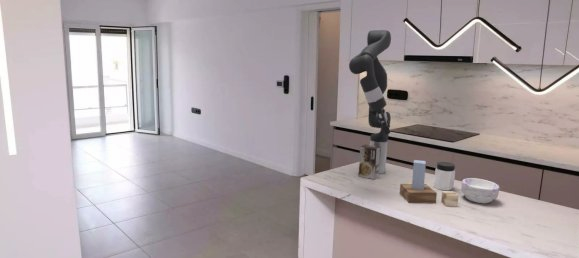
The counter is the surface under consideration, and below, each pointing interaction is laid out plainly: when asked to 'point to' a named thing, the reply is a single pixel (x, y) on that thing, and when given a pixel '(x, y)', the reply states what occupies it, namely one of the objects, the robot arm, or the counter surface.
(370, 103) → the robot arm
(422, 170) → the light blue block
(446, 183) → the jar
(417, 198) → the walnut block
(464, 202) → the counter surface
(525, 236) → the counter surface
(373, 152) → the coffee box
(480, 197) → the paper bowls
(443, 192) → the maple cube
